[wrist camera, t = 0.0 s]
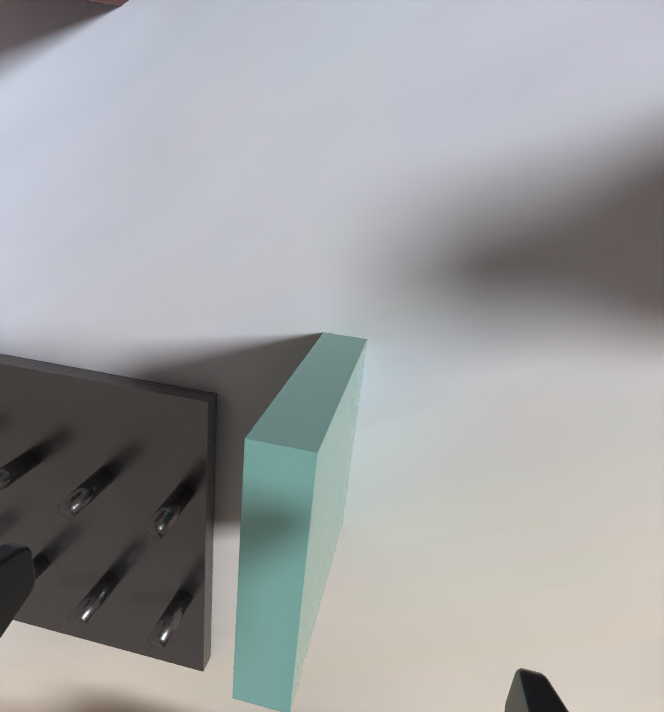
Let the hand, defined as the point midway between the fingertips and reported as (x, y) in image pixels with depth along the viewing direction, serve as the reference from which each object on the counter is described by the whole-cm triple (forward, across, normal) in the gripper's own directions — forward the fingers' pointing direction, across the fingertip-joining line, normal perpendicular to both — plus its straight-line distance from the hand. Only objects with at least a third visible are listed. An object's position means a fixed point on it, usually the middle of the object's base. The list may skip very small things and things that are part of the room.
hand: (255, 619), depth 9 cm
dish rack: (+15, +15, +12) cm, 24 cm away
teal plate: (+15, +1, +4) cm, 15 cm away
